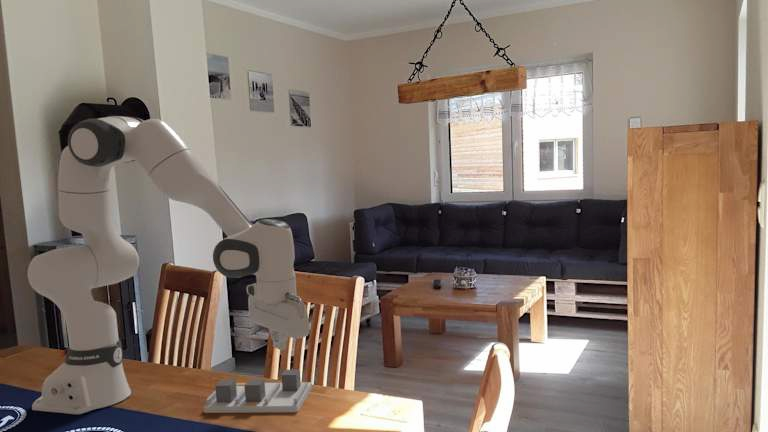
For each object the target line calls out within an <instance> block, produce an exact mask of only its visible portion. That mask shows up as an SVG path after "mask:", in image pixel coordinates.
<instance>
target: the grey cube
mask: <svg viewBox="0 0 768 432" xmlns="http://www.w3.org/2000/svg"><path fill="white" fill-rule="evenodd" d="M281 383H282V390H283V391H298V389H299V387H300V386H301V369H284V371H283V372H282V374H281Z"/></svg>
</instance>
